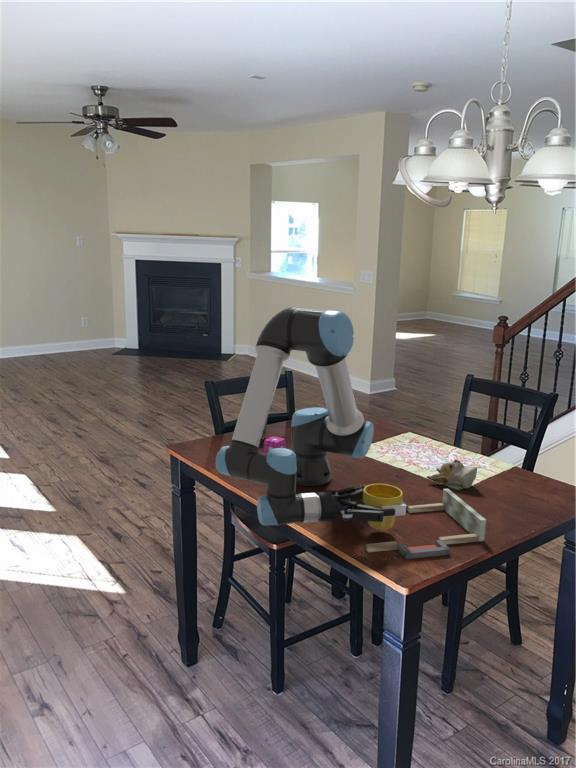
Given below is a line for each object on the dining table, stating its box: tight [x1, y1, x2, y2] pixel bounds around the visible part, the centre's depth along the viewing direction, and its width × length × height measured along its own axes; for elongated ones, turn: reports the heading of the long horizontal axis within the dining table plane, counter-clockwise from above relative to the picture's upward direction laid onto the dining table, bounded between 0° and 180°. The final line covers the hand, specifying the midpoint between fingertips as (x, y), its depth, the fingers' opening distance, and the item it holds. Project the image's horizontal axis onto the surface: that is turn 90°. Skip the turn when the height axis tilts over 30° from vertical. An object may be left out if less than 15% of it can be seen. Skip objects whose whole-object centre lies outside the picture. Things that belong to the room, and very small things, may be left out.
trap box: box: [341, 488, 487, 553], centre depth 168 cm, size 21×32×6 cm, turn 103°
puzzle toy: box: [263, 436, 287, 454], centre depth 223 cm, size 6×6×6 cm
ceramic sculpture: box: [426, 459, 478, 489], centre depth 200 cm, size 11×9×15 cm
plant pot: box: [362, 483, 404, 531], centre depth 164 cm, size 10×10×10 cm
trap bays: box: [362, 500, 451, 560], centre depth 168 cm, size 31×12×2 cm, turn 13°
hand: (397, 500), depth 165 cm, fingers closed on plant pot, 10 cm apart
